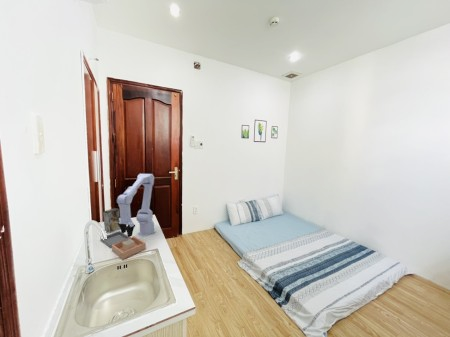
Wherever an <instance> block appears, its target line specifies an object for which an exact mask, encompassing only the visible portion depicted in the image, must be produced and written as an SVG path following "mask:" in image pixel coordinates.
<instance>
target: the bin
mask: <svg viewBox="0 0 450 337" xmlns="http://www.w3.org/2000/svg"><path fill="white" fill-rule="evenodd" d="M130 237H131V238H128V239H126V240H123V241H121V242H118V243H116V244H113V245H112V248H111V251H112V252H114V253H115V255H117V256H118V257H119V258H120V259H122V260H126V259H128V258H130V257H131V256H134V255H137V254H138V253H140V252H143V251H145V250H147V244H146V242H145V241H143V240H142V239H139V238H138V237H136V236H130ZM129 239H131V240H133V241H134V243H135V247H134V248H131V249H129V250H127V251H124V250H123V246H122V242H124V241H127V240H129Z"/></svg>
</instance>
